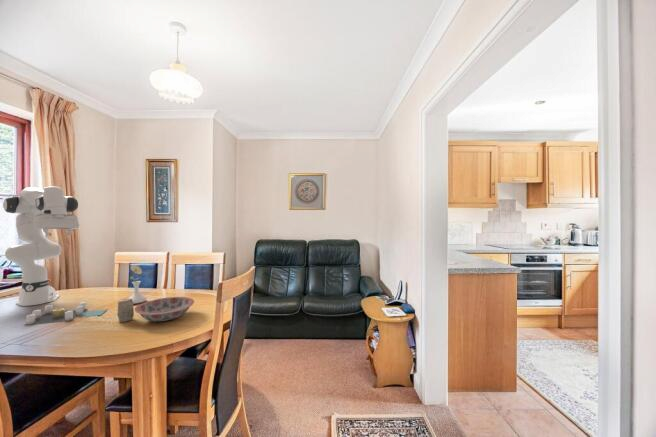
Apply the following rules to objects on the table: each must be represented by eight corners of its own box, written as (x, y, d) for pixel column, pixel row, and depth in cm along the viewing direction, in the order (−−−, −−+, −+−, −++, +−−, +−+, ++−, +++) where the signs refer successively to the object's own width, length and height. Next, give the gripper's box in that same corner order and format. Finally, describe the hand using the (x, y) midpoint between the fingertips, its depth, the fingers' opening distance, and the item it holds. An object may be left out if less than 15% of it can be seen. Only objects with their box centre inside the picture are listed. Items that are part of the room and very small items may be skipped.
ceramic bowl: (121, 324, 150) (121, 309, 149) (169, 307, 177) (169, 294, 177) (161, 332, 140) (161, 316, 139) (205, 313, 167) (205, 300, 167)
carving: (114, 322, 152) (114, 300, 152) (130, 317, 159) (129, 296, 159) (121, 324, 149) (121, 302, 149) (136, 319, 156) (136, 298, 156)
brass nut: (54, 315, 159) (54, 308, 159) (66, 314, 161) (66, 307, 161) (50, 318, 155) (50, 311, 155) (62, 317, 157) (62, 310, 157)
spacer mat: (43, 313, 163) (43, 305, 163) (90, 309, 171) (90, 301, 171) (20, 326, 145) (20, 317, 144) (74, 321, 152) (74, 312, 152)
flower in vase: (149, 301, 187) (149, 264, 186) (130, 306, 177) (130, 267, 177) (140, 298, 194) (140, 262, 193) (121, 302, 184) (121, 265, 184)
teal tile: (86, 312, 166) (86, 311, 166) (106, 310, 170) (106, 309, 170) (78, 318, 157) (78, 317, 157) (100, 316, 161) (100, 315, 161)
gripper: (72, 215, 173) (75, 237, 172) (30, 213, 153) (32, 237, 152) (80, 212, 171) (83, 234, 170) (37, 210, 152) (40, 235, 150)
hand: (59, 236), depth 161 cm, fingers open, 8 cm apart
